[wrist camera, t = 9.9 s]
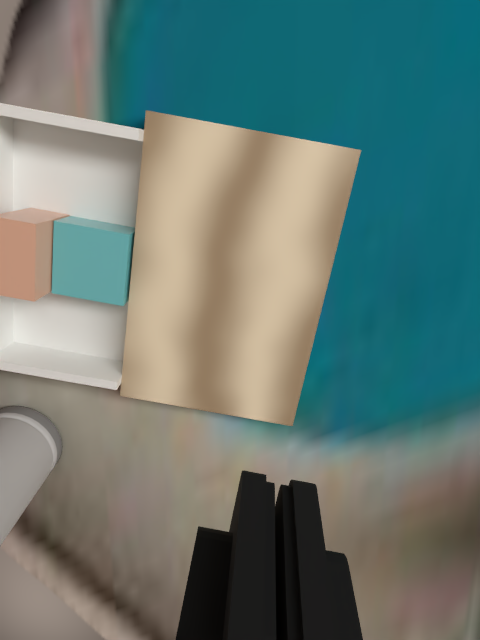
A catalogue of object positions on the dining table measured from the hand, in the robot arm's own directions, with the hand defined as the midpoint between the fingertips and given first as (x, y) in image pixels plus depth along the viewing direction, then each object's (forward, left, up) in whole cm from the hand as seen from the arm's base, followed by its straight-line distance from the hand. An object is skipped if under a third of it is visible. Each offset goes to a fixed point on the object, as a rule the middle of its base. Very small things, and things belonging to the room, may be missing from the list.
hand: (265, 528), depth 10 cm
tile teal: (+11, 0, -21) cm, 23 cm away
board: (+2, 0, -21) cm, 21 cm away
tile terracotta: (+13, 0, -18) cm, 23 cm away
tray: (+13, 0, -21) cm, 25 cm away
